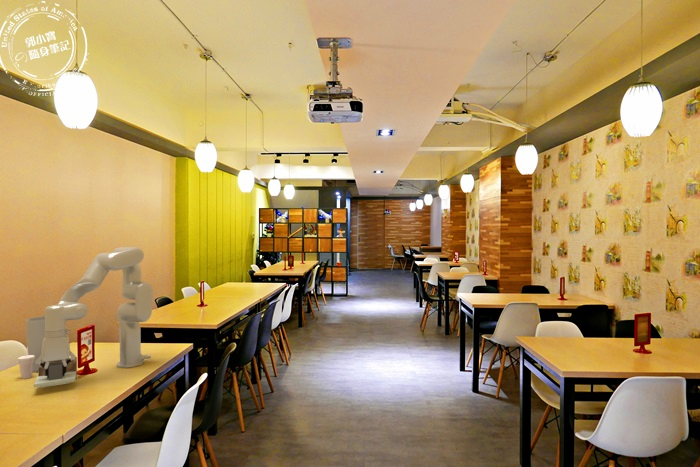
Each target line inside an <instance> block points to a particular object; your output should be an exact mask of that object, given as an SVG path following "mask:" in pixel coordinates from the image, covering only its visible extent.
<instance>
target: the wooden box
mask: <svg viewBox="0 0 700 467" xmlns="http://www.w3.org/2000/svg"><path fill="white" fill-rule="evenodd" d="M70 358H71V357H69V358H68V359H70ZM68 359H66V361H67V360H68ZM59 361H62V360H59ZM59 361H51V362H49V364H50V363H52V362H59ZM41 362H43V361H41ZM44 363H45V364H46V362H44ZM48 366H49V365H48ZM74 371H76V379H77V378H78V377H77V376H78V357H77V356H76V358H75V359H73V360H72V361H71V362H70V363H69V364H68V365H67V366H66V373H67V372H74ZM39 376H45V369H44V368H43V367H42V366H40V365H39V367H38V376H37V377H39Z"/></svg>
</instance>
